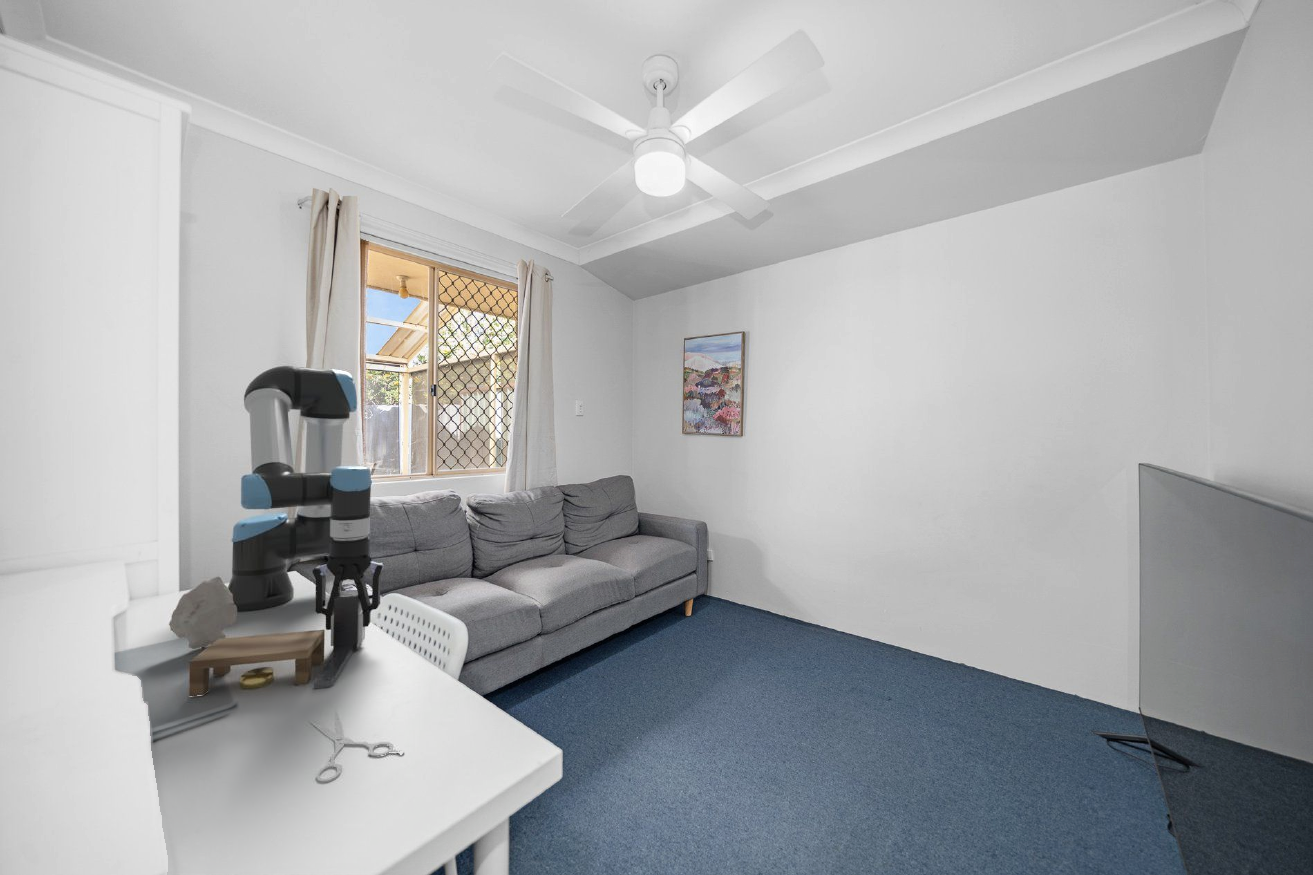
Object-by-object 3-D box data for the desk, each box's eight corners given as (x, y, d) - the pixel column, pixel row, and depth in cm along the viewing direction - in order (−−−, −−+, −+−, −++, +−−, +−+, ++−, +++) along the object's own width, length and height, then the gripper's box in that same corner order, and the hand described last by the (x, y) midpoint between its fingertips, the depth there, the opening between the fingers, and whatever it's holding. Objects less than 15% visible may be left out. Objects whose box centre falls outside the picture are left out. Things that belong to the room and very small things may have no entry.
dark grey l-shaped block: (339, 644, 111) (340, 590, 111) (361, 642, 113) (363, 589, 112) (308, 689, 92) (309, 625, 92) (336, 686, 94) (337, 623, 94)
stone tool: (168, 658, 103) (169, 586, 103) (169, 652, 106) (170, 581, 105) (237, 643, 110) (238, 576, 110) (236, 638, 113) (237, 572, 113)
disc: (247, 679, 96) (247, 669, 96) (278, 675, 98) (278, 665, 98) (235, 692, 91) (235, 681, 91) (267, 688, 93) (268, 678, 93)
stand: (218, 671, 98) (218, 638, 98) (324, 660, 104) (324, 629, 104) (189, 697, 89) (189, 661, 89) (307, 684, 94) (307, 650, 94)
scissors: (324, 789, 67) (284, 727, 80) (324, 794, 68) (283, 732, 80) (405, 752, 76) (356, 701, 89) (404, 757, 76) (356, 705, 89)
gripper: (296, 542, 103) (294, 654, 103) (391, 539, 108) (389, 645, 109) (309, 534, 110) (307, 639, 111) (397, 531, 116) (395, 631, 116)
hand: (348, 641), depth 110 cm, fingers closed on dark grey l-shaped block, 4 cm apart
